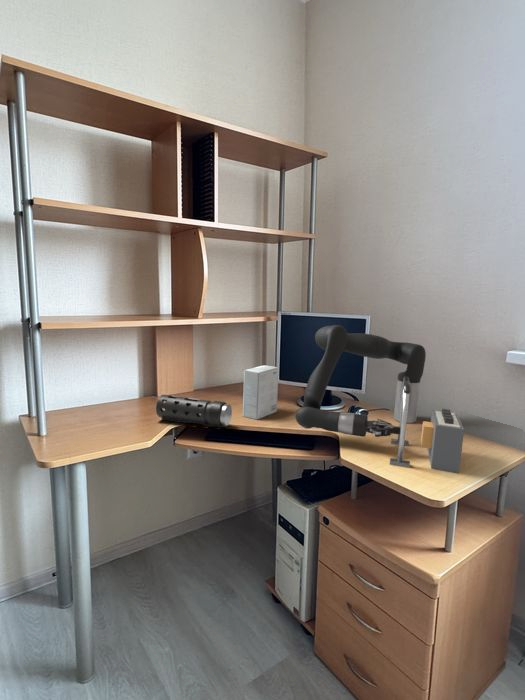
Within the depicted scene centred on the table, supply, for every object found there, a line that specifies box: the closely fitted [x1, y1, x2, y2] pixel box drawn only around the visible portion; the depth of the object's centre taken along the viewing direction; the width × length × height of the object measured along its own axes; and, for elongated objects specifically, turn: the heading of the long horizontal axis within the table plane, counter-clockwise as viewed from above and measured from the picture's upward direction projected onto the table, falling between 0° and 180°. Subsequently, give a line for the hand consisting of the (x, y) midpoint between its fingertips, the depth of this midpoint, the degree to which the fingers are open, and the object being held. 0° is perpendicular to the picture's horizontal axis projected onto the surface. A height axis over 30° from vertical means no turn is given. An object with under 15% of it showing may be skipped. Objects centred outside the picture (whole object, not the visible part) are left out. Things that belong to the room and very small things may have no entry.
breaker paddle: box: [420, 421, 434, 449], centre depth 141 cm, size 6×5×7 cm
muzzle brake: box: [155, 394, 233, 428], centre depth 164 cm, size 10×28×10 cm, turn 73°
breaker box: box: [427, 408, 465, 474], centre depth 140 cm, size 18×8×16 cm, turn 162°
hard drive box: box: [242, 364, 279, 421], centre depth 180 cm, size 16×8×20 cm, turn 146°
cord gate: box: [389, 376, 411, 468], centre depth 143 cm, size 22×6×25 cm, turn 162°
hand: (404, 431), depth 144 cm, fingers closed
